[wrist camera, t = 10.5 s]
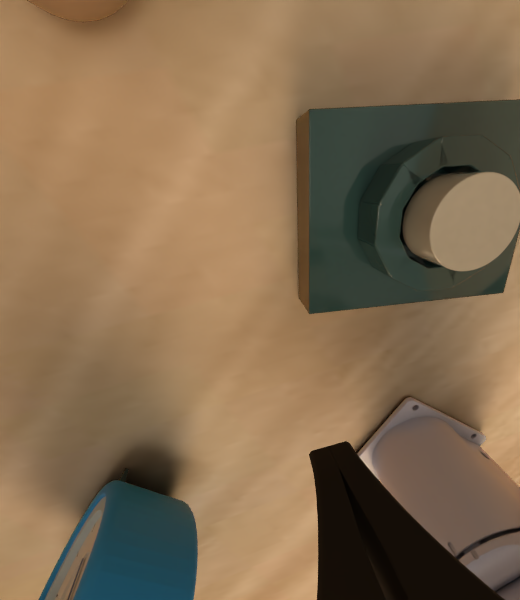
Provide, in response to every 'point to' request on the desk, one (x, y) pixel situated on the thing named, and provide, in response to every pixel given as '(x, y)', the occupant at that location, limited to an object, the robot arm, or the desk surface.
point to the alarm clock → (128, 549)
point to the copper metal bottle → (80, 8)
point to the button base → (391, 198)
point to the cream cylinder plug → (462, 219)
